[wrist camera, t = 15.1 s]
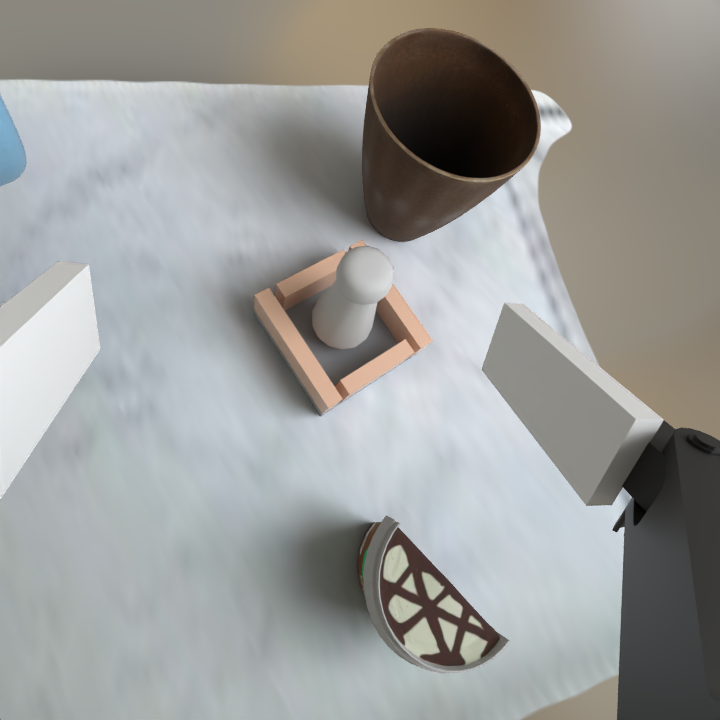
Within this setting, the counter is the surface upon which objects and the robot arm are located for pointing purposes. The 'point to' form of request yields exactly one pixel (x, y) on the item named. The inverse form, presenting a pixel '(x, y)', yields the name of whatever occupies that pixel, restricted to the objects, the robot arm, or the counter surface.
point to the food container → (420, 606)
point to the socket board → (327, 364)
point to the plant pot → (441, 130)
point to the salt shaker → (353, 298)
